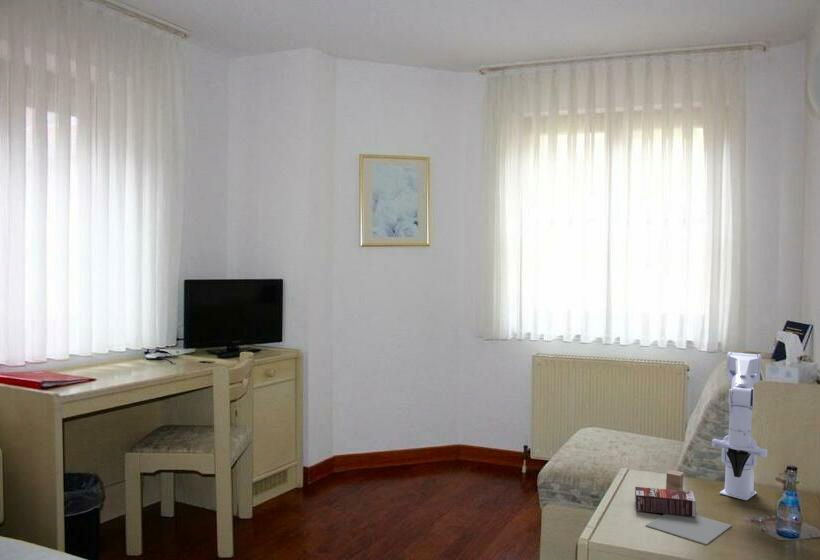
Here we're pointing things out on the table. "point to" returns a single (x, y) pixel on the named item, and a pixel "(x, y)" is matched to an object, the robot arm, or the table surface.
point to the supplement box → (665, 501)
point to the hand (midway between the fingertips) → (737, 476)
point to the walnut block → (674, 480)
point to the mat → (690, 527)
